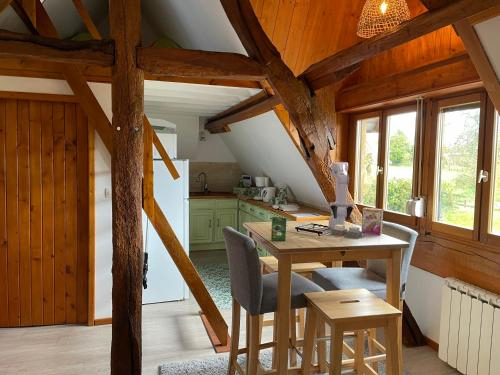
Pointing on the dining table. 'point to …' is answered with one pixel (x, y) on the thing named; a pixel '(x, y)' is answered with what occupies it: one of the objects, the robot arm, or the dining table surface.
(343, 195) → the robot arm
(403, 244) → the dining table surface
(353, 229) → the light gray key
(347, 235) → the key panel
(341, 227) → the cream key
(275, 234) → the coffee box
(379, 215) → the candy bar box
